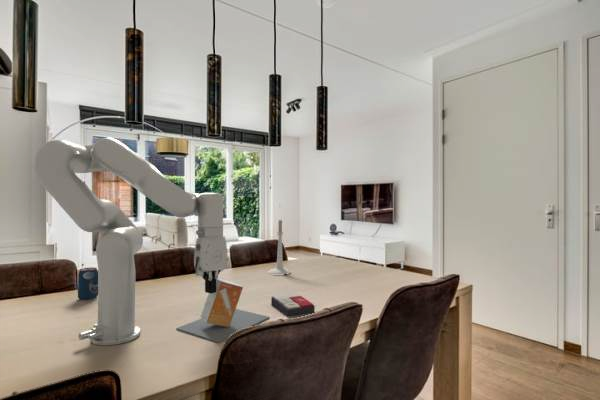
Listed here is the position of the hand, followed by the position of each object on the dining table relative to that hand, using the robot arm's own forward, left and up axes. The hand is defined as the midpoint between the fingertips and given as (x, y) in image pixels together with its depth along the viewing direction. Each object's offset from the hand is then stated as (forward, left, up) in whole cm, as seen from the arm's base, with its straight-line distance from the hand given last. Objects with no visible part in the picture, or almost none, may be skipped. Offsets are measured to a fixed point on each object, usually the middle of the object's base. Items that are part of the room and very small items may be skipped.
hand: (210, 292), depth 103 cm
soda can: (-3, +65, -12) cm, 67 cm away
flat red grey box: (+32, -10, -13) cm, 36 cm away
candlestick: (+80, +29, -12) cm, 86 cm away
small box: (+2, 0, -10) cm, 10 cm away
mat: (+7, 0, -12) cm, 14 cm away
